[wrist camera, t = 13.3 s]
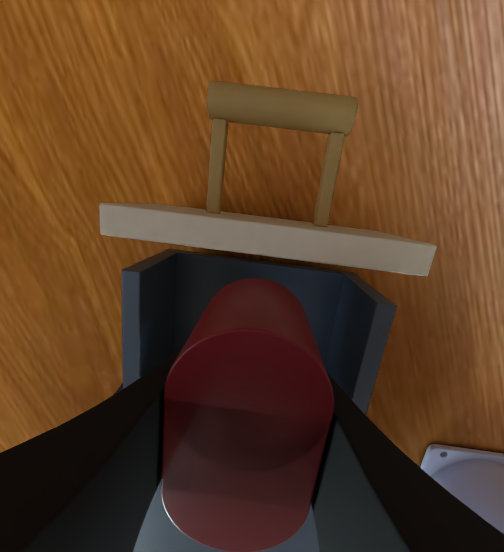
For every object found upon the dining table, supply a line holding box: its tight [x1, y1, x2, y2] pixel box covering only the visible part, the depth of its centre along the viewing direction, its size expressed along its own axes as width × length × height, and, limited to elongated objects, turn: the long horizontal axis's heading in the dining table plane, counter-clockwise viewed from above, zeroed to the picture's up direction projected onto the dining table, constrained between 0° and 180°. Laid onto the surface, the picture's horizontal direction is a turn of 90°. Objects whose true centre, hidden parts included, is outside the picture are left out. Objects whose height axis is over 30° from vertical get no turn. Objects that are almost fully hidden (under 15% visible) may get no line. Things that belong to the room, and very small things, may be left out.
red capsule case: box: [161, 278, 334, 552], centre depth 9 cm, size 4×7×4 cm, turn 173°
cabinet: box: [114, 383, 319, 552], centre depth 17 cm, size 16×14×8 cm
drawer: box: [99, 81, 437, 415], centre depth 14 cm, size 20×12×6 cm, turn 173°
